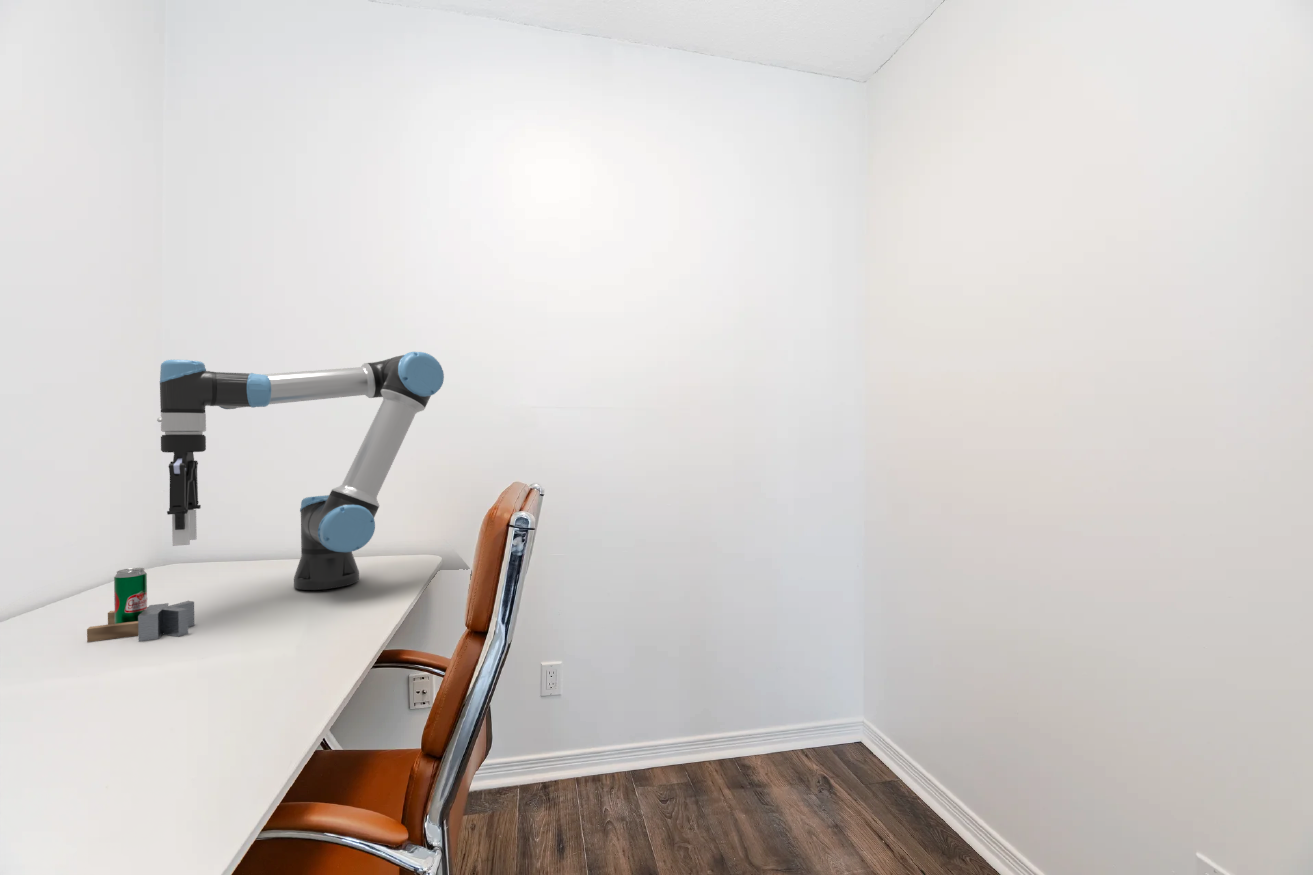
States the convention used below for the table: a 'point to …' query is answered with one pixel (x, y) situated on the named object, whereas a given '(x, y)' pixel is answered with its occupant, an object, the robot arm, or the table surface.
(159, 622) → the v block
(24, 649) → the table surface
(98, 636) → the channel
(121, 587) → the soda can
